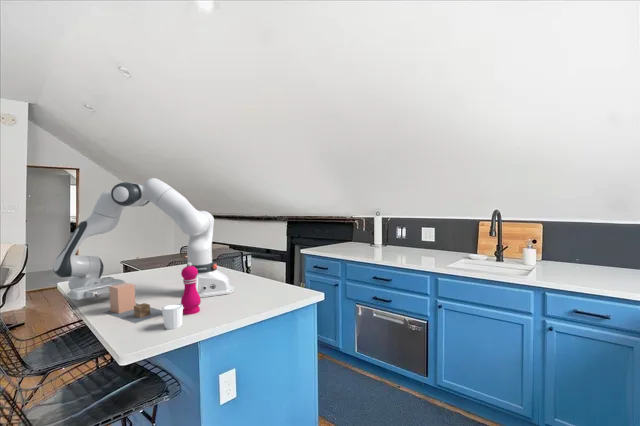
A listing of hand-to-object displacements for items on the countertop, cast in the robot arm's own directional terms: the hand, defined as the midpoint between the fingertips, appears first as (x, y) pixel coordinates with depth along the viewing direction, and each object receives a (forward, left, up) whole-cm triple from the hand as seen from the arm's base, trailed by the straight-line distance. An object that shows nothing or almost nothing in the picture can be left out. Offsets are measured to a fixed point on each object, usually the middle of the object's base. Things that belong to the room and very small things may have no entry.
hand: (107, 291), depth 142 cm
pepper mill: (-37, +20, -6) cm, 42 cm away
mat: (-15, +14, -6) cm, 21 cm away
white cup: (-33, +33, -6) cm, 47 cm away
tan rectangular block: (-9, +9, -6) cm, 14 cm away
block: (-19, +19, -6) cm, 27 cm away
